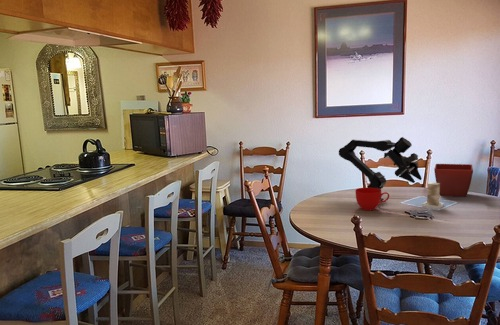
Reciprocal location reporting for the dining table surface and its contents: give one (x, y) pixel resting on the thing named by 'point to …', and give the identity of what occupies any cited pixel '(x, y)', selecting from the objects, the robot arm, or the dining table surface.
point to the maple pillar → (433, 193)
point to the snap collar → (433, 205)
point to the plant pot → (453, 179)
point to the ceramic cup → (369, 198)
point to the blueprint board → (421, 199)
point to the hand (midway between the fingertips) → (417, 180)
